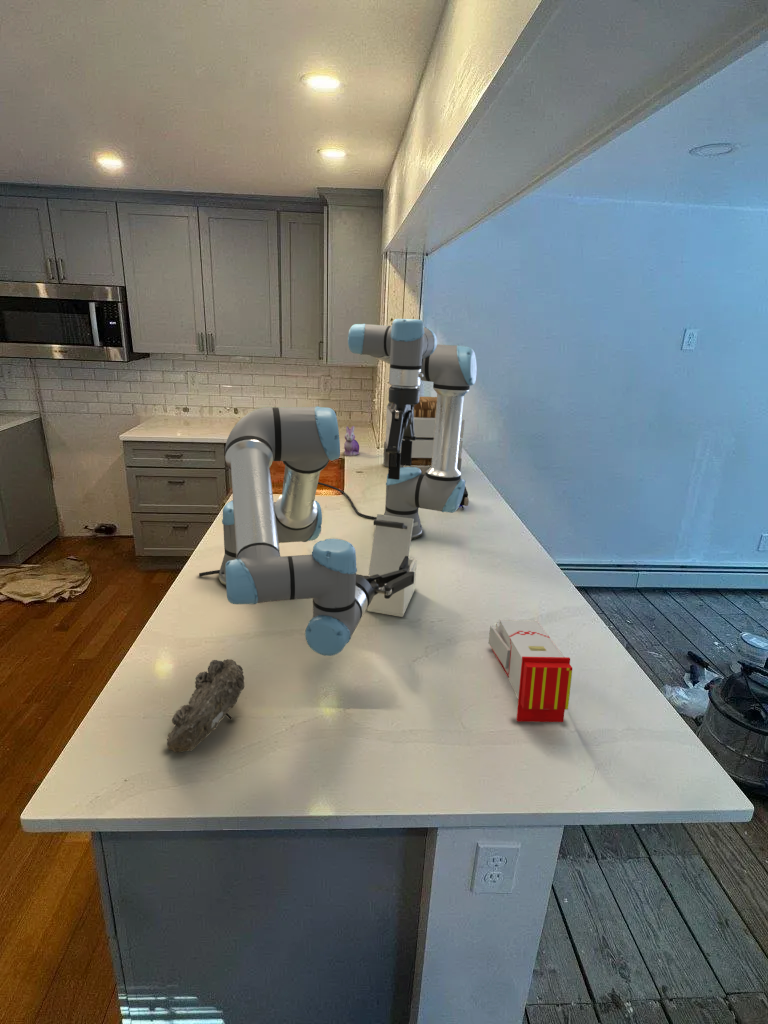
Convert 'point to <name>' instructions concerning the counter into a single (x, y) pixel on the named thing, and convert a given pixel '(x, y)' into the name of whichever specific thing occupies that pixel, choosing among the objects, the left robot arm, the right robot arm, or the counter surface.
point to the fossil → (206, 705)
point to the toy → (533, 669)
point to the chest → (394, 598)
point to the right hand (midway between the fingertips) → (399, 471)
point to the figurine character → (464, 499)
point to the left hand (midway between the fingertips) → (377, 557)
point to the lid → (390, 543)
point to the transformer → (420, 433)
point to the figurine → (350, 442)
